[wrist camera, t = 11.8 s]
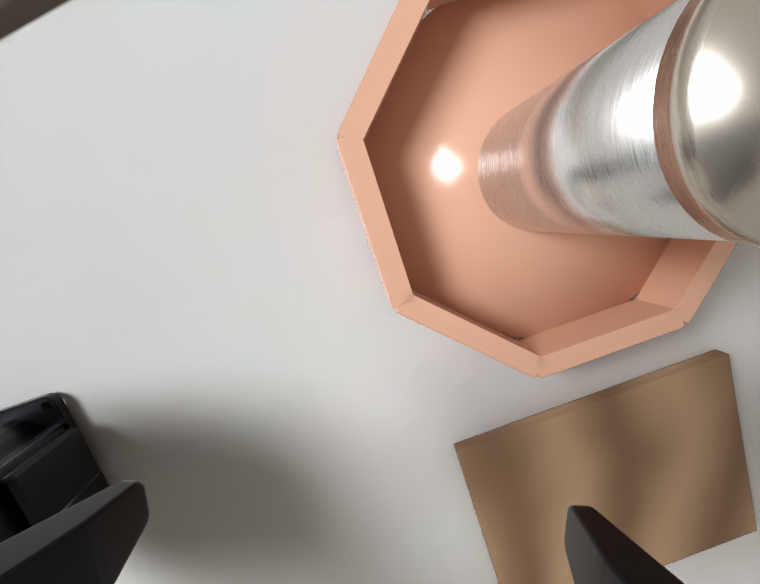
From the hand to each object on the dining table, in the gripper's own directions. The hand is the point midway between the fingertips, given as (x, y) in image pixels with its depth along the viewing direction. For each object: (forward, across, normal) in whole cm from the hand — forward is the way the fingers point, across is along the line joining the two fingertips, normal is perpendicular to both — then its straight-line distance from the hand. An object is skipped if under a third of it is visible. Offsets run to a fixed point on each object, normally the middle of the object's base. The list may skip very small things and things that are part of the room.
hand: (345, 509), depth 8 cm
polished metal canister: (+14, -7, -7) cm, 17 cm away
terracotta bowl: (+15, -7, -7) cm, 18 cm away
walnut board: (+14, -13, +11) cm, 22 cm away
